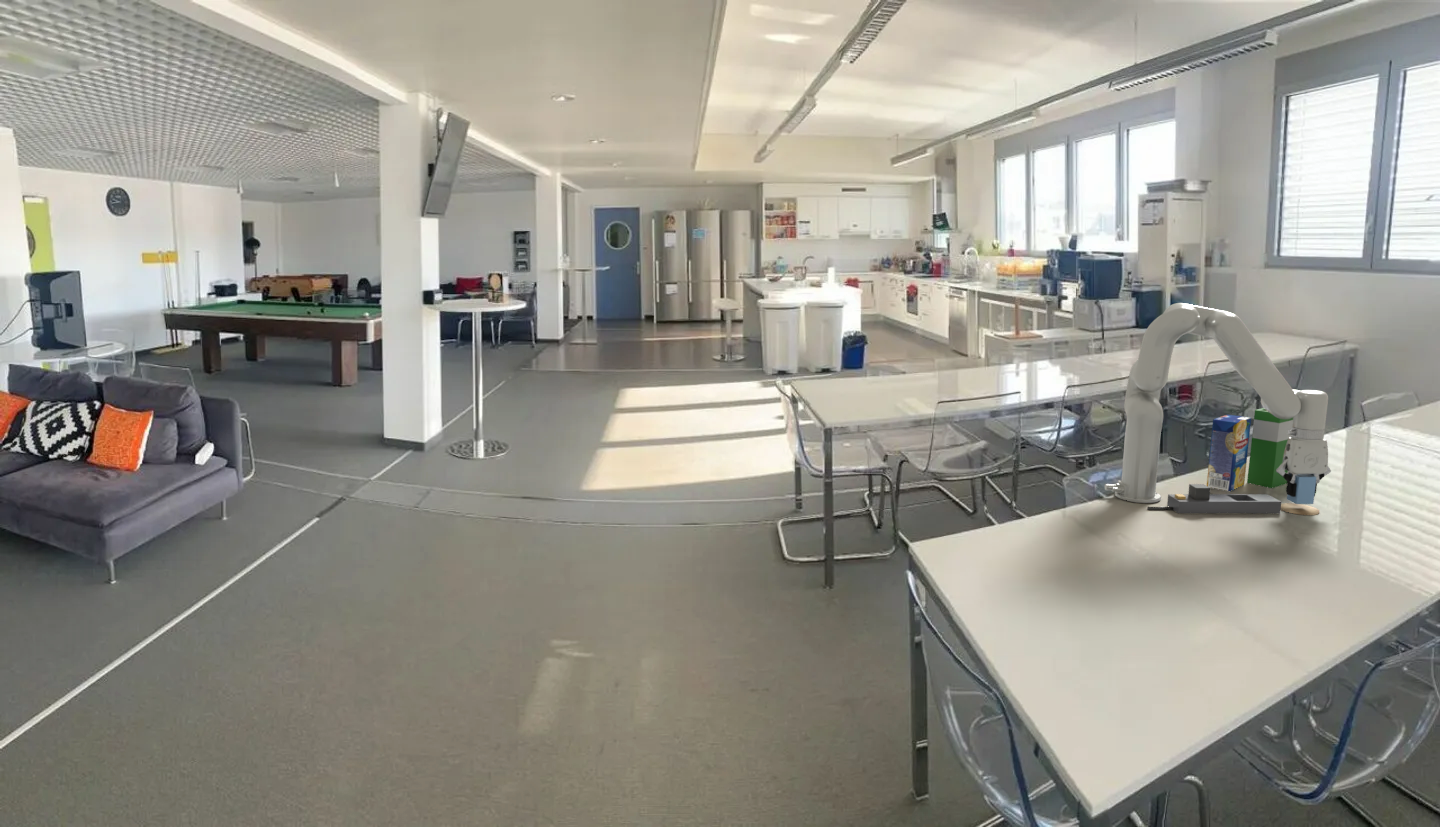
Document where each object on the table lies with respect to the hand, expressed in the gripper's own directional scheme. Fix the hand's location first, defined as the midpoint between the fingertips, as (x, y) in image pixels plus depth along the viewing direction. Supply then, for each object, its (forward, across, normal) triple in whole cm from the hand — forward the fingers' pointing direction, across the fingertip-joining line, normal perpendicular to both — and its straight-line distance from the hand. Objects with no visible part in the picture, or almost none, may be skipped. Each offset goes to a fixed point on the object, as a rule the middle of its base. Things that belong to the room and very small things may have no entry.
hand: (1300, 494), depth 236 cm
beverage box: (+5, -8, +24) cm, 26 cm away
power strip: (+4, -25, 0) cm, 25 cm away
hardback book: (+5, +10, +30) cm, 31 cm away
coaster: (+5, 0, 0) cm, 5 cm away
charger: (+2, 0, 0) cm, 2 cm away
